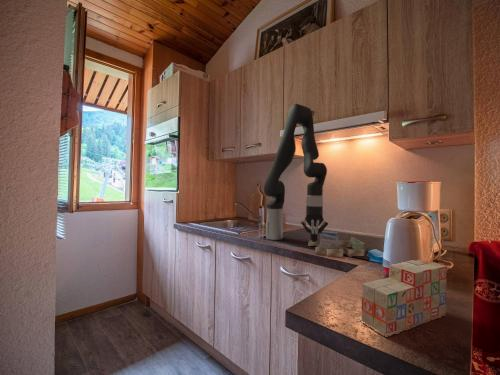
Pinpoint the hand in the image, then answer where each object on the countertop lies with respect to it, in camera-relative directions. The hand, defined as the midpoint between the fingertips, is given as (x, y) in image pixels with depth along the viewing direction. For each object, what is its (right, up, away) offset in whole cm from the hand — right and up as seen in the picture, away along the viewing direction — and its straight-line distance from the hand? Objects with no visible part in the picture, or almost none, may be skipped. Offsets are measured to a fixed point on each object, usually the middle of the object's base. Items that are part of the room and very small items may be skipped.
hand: (313, 241), depth 116 cm
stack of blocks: (+6, -6, -59) cm, 59 cm away
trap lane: (+10, -4, -1) cm, 11 cm away
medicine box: (+7, -4, 0) cm, 9 cm away
